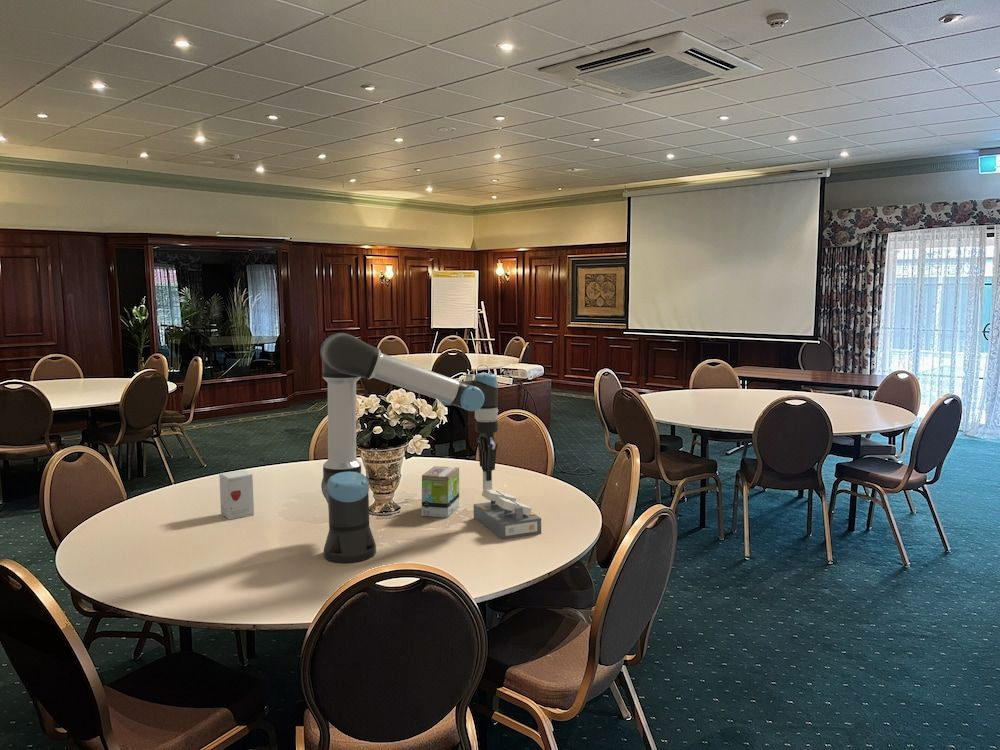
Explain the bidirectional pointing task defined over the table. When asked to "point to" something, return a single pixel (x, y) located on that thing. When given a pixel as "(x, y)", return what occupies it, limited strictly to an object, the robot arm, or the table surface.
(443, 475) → the tea box
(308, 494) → the table surface
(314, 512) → the table surface
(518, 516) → the switch unit
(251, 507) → the supplement box
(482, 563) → the table surface
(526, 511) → the rocker
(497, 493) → the rocker
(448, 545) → the table surface
